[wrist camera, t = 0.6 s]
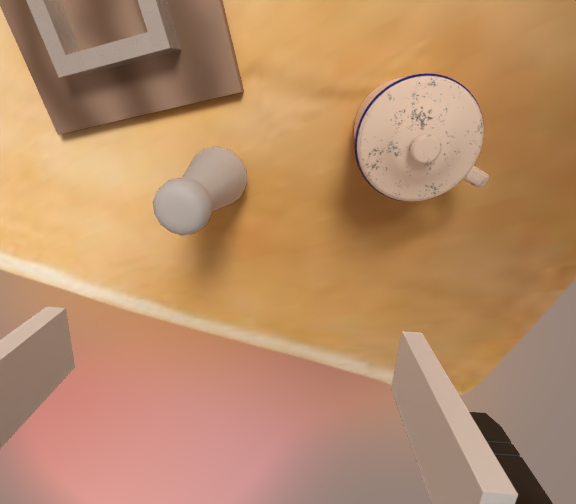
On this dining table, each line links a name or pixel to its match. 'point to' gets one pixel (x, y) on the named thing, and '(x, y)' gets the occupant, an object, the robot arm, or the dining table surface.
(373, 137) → the teacup with lid
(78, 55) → the metal collar
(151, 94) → the walnut board
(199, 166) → the salt shaker
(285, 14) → the dining table surface
